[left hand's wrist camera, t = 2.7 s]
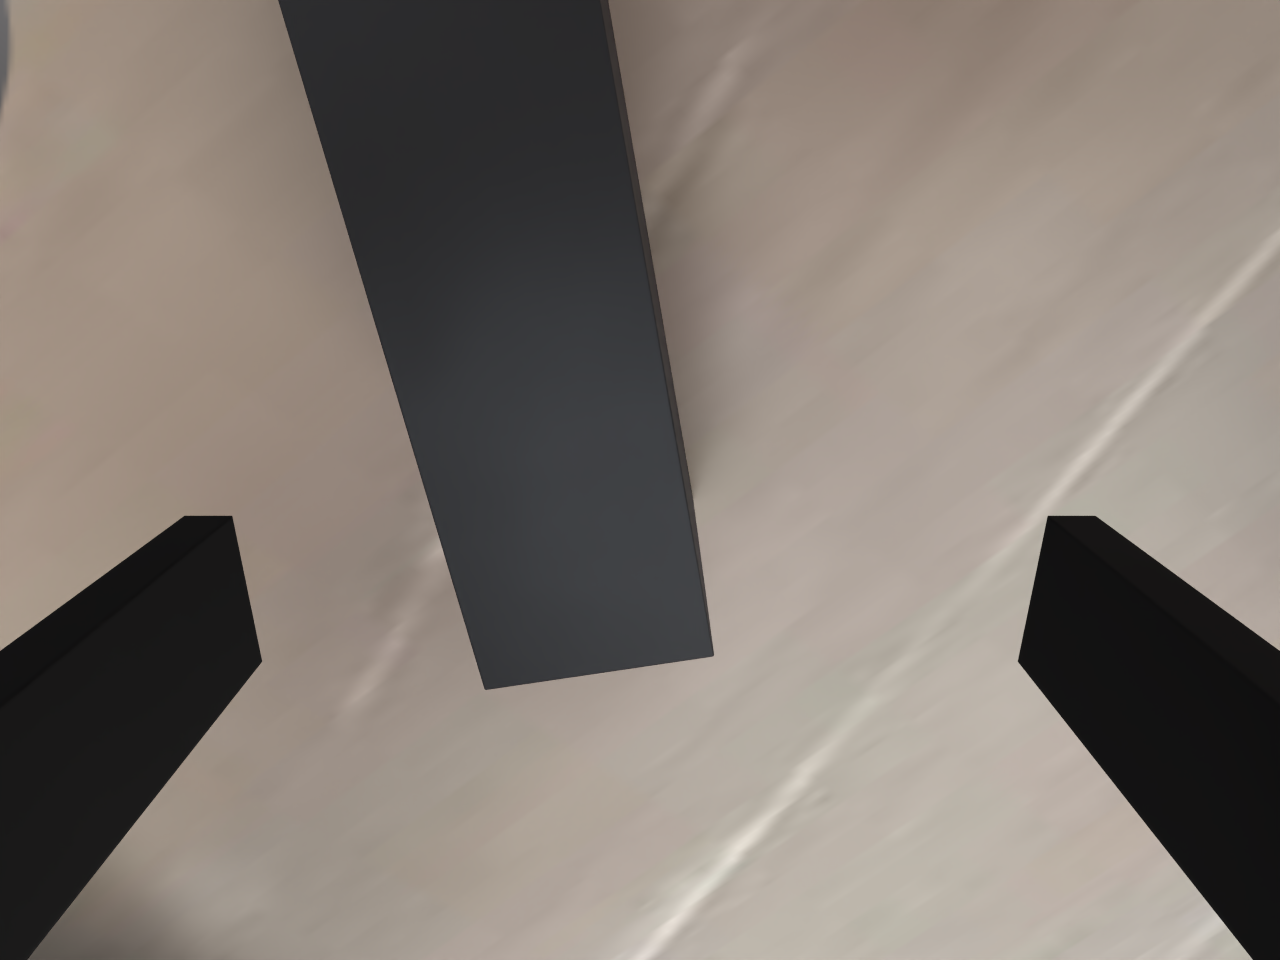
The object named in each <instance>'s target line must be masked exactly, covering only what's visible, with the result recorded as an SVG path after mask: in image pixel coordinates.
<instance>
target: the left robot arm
mask: <svg viewBox="0 0 1280 960" xmlns="http://www.w3.org/2000/svg"><path fill="white" fill-rule="evenodd" d="M261 662H262V659H261V654H260V649H259V644H258V639H257V634H256V629H255V624H254V620H253V615H252V610H251V605H250V600H249V595H248V590H247V586H246V581H245V576H244V571H243V566H242V561H241V556H240V552H239V547H238V542H237V537H236V532H235V527H234V522H233V517H232V516H184V517H182V518H181V519H180V520H178V521H177V522H176V523H174V524H173V525H172V526H170V527H169V528H167V529H166V530H165V531H163V532H162V533H161V534H159V535H158V536H156V537H155V538H154V539H152V540H151V541H150V542H148V543H147V544H146V545H144V546H143V547H141V548H140V549H139V550H137V551H136V552H135V553H133V554H132V555H131V556H129V557H128V558H126V559H125V560H124V561H122V562H121V563H120V564H118V565H117V566H116V567H114V568H113V569H111V570H110V571H109V572H107V573H106V574H105V575H103V576H102V577H101V578H99V579H98V580H96V581H95V582H94V583H92V584H91V585H90V586H88V587H87V588H86V589H84V590H83V591H81V592H80V593H79V594H77V595H76V596H75V597H73V598H72V599H71V600H69V601H68V602H66V603H65V604H64V605H62V606H61V607H60V608H58V609H57V610H56V611H54V612H53V613H51V614H50V615H49V616H47V617H46V618H45V619H43V620H42V621H41V622H39V623H38V624H36V625H35V626H34V627H32V628H31V629H30V630H28V631H27V632H26V633H24V634H23V635H21V636H20V637H19V638H17V639H16V640H15V641H13V642H12V643H10V644H9V645H8V646H6V647H5V648H4V649H2V650H1V651H0V960H27V959H28V958H29V957H30V955H31V954H32V953H33V951H34V950H35V949H36V948H37V946H38V945H39V944H40V943H41V941H42V940H43V939H44V938H45V936H46V935H47V934H48V932H49V931H50V930H51V929H52V927H53V926H54V925H55V924H56V922H57V921H58V920H59V918H60V917H61V916H62V915H63V913H64V912H65V911H66V910H67V908H68V907H69V906H70V905H71V903H72V902H73V901H74V899H75V898H76V897H77V896H78V894H79V893H80V892H81V891H82V889H83V888H84V887H85V885H86V884H87V883H88V882H89V880H90V879H91V878H92V877H93V875H94V874H95V873H96V872H97V870H98V869H99V868H100V866H101V865H102V864H103V863H104V861H105V860H106V859H107V858H108V856H109V855H110V854H111V853H112V851H113V850H114V849H115V847H116V846H117V845H118V844H119V842H120V841H121V840H122V839H123V837H124V836H125V835H126V833H127V832H128V831H129V830H130V828H131V827H132V826H133V825H134V823H135V822H136V821H137V820H138V818H139V817H140V816H141V814H142V813H143V812H144V811H145V809H146V808H147V807H148V806H149V804H150V803H151V802H152V801H153V799H154V798H155V797H156V795H157V794H158V793H159V792H160V790H161V789H162V788H163V787H164V785H165V784H166V783H167V781H168V780H169V779H170V778H171V776H172V775H173V774H174V773H175V771H176V770H177V769H178V768H179V766H180V765H181V764H182V762H183V761H184V760H185V759H186V757H187V756H188V755H189V754H190V752H191V751H192V750H193V749H194V747H195V746H196V745H197V743H198V742H199V741H200V740H201V738H202V737H203V736H204V735H205V733H206V732H207V731H208V729H209V728H210V727H211V726H212V724H213V723H214V722H215V721H216V719H217V718H218V717H219V716H220V714H221V713H222V712H223V710H224V709H225V708H226V707H227V705H228V704H229V703H230V702H231V700H232V699H233V698H234V697H235V695H236V694H237V693H238V691H239V690H240V689H241V688H242V686H243V685H244V684H245V683H246V681H247V680H248V679H249V677H250V676H251V675H252V674H253V672H254V671H255V670H256V669H257V667H258V666H259V665H260V664H261ZM1018 662H1019V664H1020V665H1021V666H1022V667H1023V669H1024V670H1025V671H1026V672H1027V674H1028V675H1029V676H1030V677H1031V679H1032V680H1033V681H1034V683H1035V684H1036V685H1037V686H1038V688H1039V689H1040V690H1041V691H1042V693H1043V694H1044V695H1045V697H1046V698H1047V699H1048V700H1049V702H1050V703H1051V704H1052V705H1053V707H1054V708H1055V709H1056V710H1057V712H1058V713H1059V714H1060V716H1061V717H1062V718H1063V719H1064V721H1065V722H1066V723H1067V724H1068V726H1069V727H1070V728H1071V729H1072V731H1073V732H1074V733H1075V735H1076V736H1077V737H1078V738H1079V740H1080V741H1081V742H1082V743H1083V745H1084V746H1085V747H1086V749H1087V750H1088V751H1089V752H1090V754H1091V755H1092V756H1093V757H1094V759H1095V760H1096V761H1097V762H1098V764H1099V765H1100V766H1101V768H1102V769H1103V770H1104V771H1105V773H1106V774H1107V775H1108V776H1109V778H1110V779H1111V780H1112V781H1113V783H1114V784H1115V785H1116V787H1117V788H1118V789H1119V790H1120V792H1121V793H1122V794H1123V795H1124V797H1125V798H1126V799H1127V801H1128V802H1129V803H1130V804H1131V806H1132V807H1133V808H1134V809H1135V811H1136V812H1137V813H1138V814H1139V816H1140V817H1141V818H1142V820H1143V821H1144V822H1145V823H1146V825H1147V826H1148V827H1149V828H1150V830H1151V831H1152V832H1153V833H1154V835H1155V836H1156V837H1157V839H1158V840H1159V841H1160V842H1161V844H1162V845H1163V846H1164V847H1165V849H1166V850H1167V851H1168V853H1169V854H1170V855H1171V856H1172V858H1173V859H1174V860H1175V861H1176V863H1177V864H1178V865H1179V866H1180V868H1181V869H1182V870H1183V872H1184V873H1185V874H1186V875H1187V877H1188V878H1189V879H1190V880H1191V882H1192V883H1193V884H1194V886H1195V887H1196V888H1197V889H1198V891H1199V892H1200V893H1201V894H1202V896H1203V897H1204V898H1205V899H1206V901H1207V902H1208V903H1209V905H1210V906H1211V907H1212V908H1213V910H1214V911H1215V912H1216V913H1217V915H1218V916H1219V917H1220V918H1221V920H1222V921H1223V922H1224V924H1225V925H1226V926H1227V927H1228V929H1229V930H1230V931H1231V932H1232V934H1233V935H1234V936H1235V938H1236V939H1237V940H1238V941H1239V943H1240V944H1241V945H1242V946H1243V948H1244V949H1245V950H1246V951H1247V953H1248V954H1249V955H1250V957H1251V958H1252V959H1253V960H1280V651H1279V650H1278V649H1276V648H1275V647H1274V646H1272V645H1271V644H1270V643H1268V642H1267V641H1265V640H1264V639H1263V638H1261V637H1260V636H1259V635H1257V634H1256V633H1254V632H1253V631H1252V630H1250V629H1249V628H1248V627H1246V626H1245V625H1244V624H1242V623H1241V622H1239V621H1238V620H1237V619H1235V618H1234V617H1233V616H1231V615H1230V614H1229V613H1227V612H1226V611H1224V610H1223V609H1222V608H1220V607H1219V606H1218V605H1216V604H1215V603H1214V602H1212V601H1211V600H1209V599H1208V598H1207V597H1205V596H1204V595H1203V594H1201V593H1200V592H1199V591H1197V590H1196V589H1194V588H1193V587H1192V586H1190V585H1189V584H1188V583H1186V582H1185V581H1184V580H1182V579H1181V578H1179V577H1178V576H1177V575H1175V574H1174V573H1173V572H1171V571H1170V570H1169V569H1167V568H1166V567H1164V566H1163V565H1162V564H1160V563H1159V562H1158V561H1156V560H1155V559H1154V558H1152V557H1151V556H1149V555H1148V554H1147V553H1145V552H1144V551H1143V550H1141V549H1140V548H1139V547H1137V546H1136V545H1134V544H1133V543H1132V542H1130V541H1129V540H1128V539H1126V538H1125V537H1124V536H1122V535H1121V534H1119V533H1118V532H1117V531H1115V530H1114V529H1113V528H1111V527H1110V526H1108V525H1107V524H1106V523H1104V522H1103V521H1102V520H1100V519H1099V518H1098V517H1096V516H1048V517H1047V522H1046V527H1045V532H1044V537H1043V542H1042V547H1041V552H1040V556H1039V561H1038V566H1037V571H1036V576H1035V581H1034V586H1033V590H1032V595H1031V600H1030V605H1029V610H1028V615H1027V620H1026V624H1025V629H1024V634H1023V639H1022V644H1021V649H1020V654H1019V659H1018Z"/></svg>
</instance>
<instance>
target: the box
mask: <svg viewBox="0 0 1280 960" xmlns="http://www.w3.org/2000/svg"><path fill="white" fill-rule="evenodd" d="M278 1H279V4H280V8H281V11H282V14H283V18H284V21H285V24H286V28H287V31H288V34H289V38H290V41H291V44H292V48H293V51H294V54H295V58H296V61H297V64H298V68H299V71H300V74H301V78H302V81H303V84H304V88H305V91H306V94H307V98H308V101H309V104H310V108H311V111H312V114H313V118H314V121H315V124H316V128H317V131H318V134H319V138H320V141H321V144H322V148H323V151H324V154H325V158H326V161H327V164H328V168H329V171H330V174H331V178H332V181H333V185H334V188H335V191H336V195H337V198H338V201H339V205H340V208H341V211H342V215H343V218H344V221H345V225H346V228H347V231H348V235H349V238H350V241H351V245H352V248H353V251H354V255H355V258H356V261H357V265H358V268H359V271H360V275H361V278H362V281H363V285H364V288H365V291H366V295H367V298H368V301H369V305H370V308H371V311H372V315H373V318H374V321H375V325H376V328H377V331H378V335H379V338H380V341H381V345H382V348H383V351H384V355H385V358H386V361H387V365H388V368H389V371H390V375H391V378H392V381H393V385H394V388H395V391H396V395H397V398H398V401H399V405H400V408H401V411H402V415H403V418H404V421H405V425H406V428H407V432H408V435H409V438H410V442H411V445H412V448H413V452H414V455H415V458H416V462H417V465H418V468H419V472H420V475H421V478H422V482H423V485H424V488H425V492H426V495H427V498H428V502H429V505H430V508H431V512H432V515H433V518H434V522H435V525H436V528H437V532H438V535H439V538H440V542H441V545H442V548H443V552H444V555H445V558H446V562H447V565H448V568H449V572H450V575H451V578H452V582H453V585H454V588H455V592H456V595H457V598H458V602H459V605H460V608H461V612H462V615H463V618H464V622H465V625H466V628H467V632H468V635H469V638H470V642H471V645H472V648H473V652H474V655H475V658H476V662H477V665H478V668H479V672H480V675H481V679H482V682H483V685H484V688H485V690H488V689H495V688H502V687H509V686H515V685H522V684H529V683H536V682H543V681H549V680H556V679H563V678H570V677H577V676H583V675H590V674H597V673H604V672H611V671H617V670H624V669H631V668H638V667H644V666H651V665H658V664H665V663H672V662H678V661H685V660H692V659H699V658H706V657H712V656H714V651H713V644H712V636H711V629H710V622H709V614H708V607H707V599H706V592H705V584H704V577H703V569H702V562H701V555H700V547H699V540H698V532H697V525H696V517H695V510H694V503H693V496H692V490H691V485H690V479H689V473H688V467H687V461H686V455H685V449H684V444H683V438H682V432H681V426H680V420H679V414H678V408H677V403H676V397H675V391H674V385H673V379H672V373H671V367H670V362H669V356H668V350H667V344H666V338H665V332H664V326H663V321H662V315H661V309H660V303H659V297H658V291H657V285H656V279H655V274H654V268H653V262H652V256H651V250H650V244H649V238H648V233H647V227H646V221H645V215H644V209H643V203H642V197H641V192H640V186H639V180H638V174H637V168H636V162H635V156H634V151H633V145H632V139H631V133H630V127H629V121H628V115H627V109H626V104H625V98H624V92H623V86H622V80H621V74H620V68H619V63H618V57H617V51H616V45H615V39H614V33H613V27H612V22H611V16H610V10H609V4H608V0H278Z"/></svg>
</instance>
